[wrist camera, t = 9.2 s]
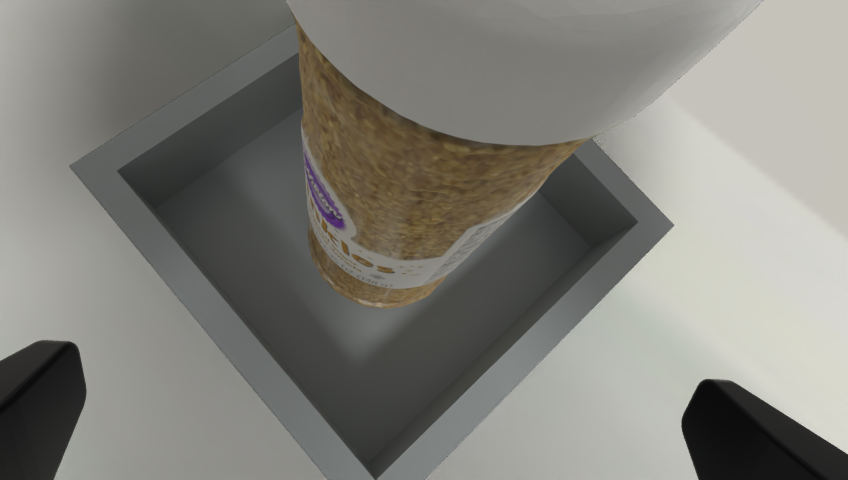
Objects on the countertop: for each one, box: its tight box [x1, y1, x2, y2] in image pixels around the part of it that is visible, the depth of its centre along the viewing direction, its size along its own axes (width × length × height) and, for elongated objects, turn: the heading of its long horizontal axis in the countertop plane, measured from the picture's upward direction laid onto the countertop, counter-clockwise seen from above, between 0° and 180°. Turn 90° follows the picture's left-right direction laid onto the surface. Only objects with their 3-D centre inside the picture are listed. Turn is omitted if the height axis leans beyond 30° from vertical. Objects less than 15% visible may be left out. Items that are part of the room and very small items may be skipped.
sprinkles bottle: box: [286, 0, 763, 309], centre depth 10 cm, size 5×5×14 cm
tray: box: [69, 23, 674, 480], centre depth 16 cm, size 11×11×4 cm
